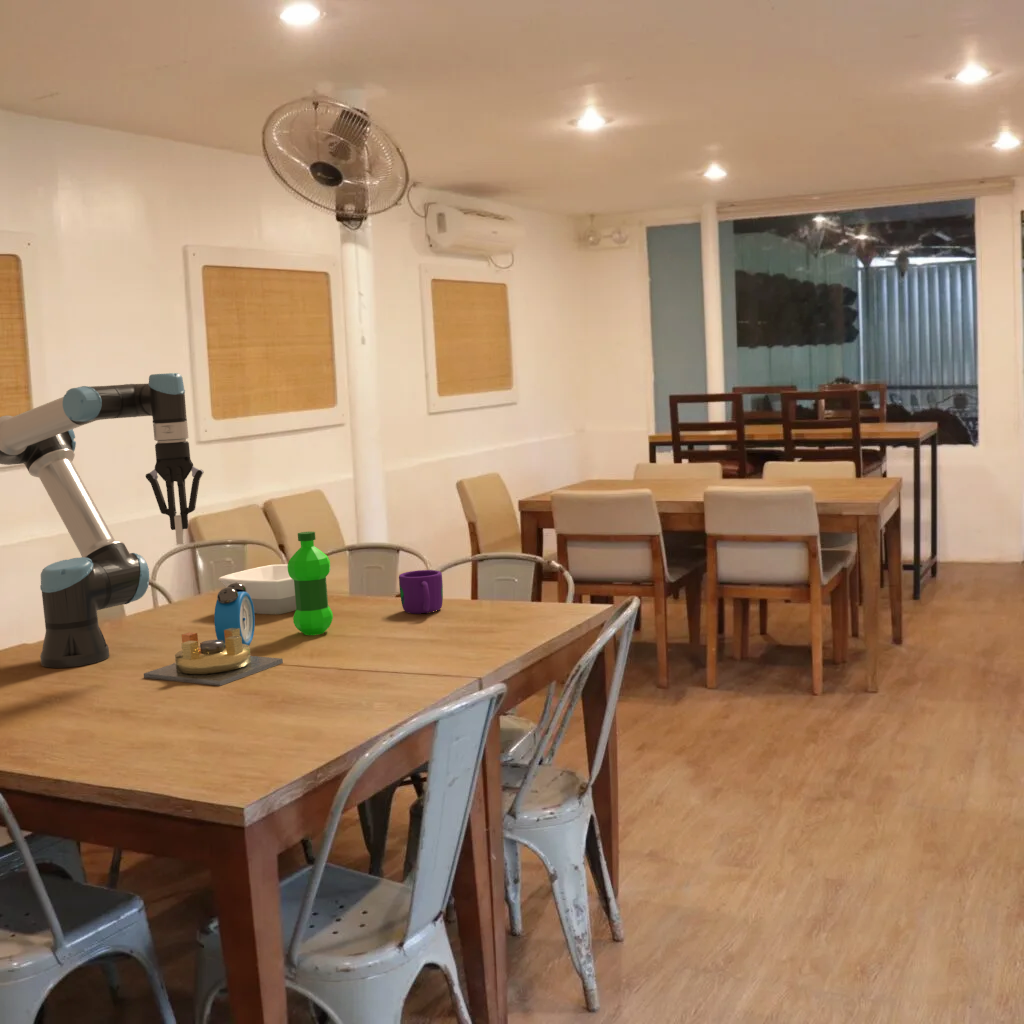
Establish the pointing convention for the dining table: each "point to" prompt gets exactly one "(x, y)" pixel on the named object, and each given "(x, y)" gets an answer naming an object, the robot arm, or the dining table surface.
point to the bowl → (267, 588)
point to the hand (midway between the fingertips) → (181, 543)
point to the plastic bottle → (310, 586)
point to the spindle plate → (214, 678)
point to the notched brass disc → (212, 653)
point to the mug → (421, 591)
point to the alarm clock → (234, 612)
